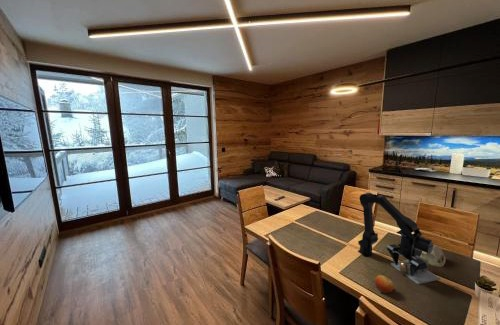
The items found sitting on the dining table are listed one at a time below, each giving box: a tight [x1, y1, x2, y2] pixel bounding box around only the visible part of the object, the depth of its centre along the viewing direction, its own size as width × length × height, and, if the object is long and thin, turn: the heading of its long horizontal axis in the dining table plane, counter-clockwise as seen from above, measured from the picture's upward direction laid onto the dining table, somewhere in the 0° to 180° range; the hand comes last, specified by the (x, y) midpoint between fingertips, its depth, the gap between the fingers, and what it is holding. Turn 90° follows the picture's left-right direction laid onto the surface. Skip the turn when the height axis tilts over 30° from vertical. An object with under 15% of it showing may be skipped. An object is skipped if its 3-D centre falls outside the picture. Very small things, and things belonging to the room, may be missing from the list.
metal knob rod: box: [399, 260, 430, 275], centre depth 115 cm, size 18×4×5 cm, turn 103°
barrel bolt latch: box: [390, 255, 441, 285], centre depth 115 cm, size 14×16×8 cm
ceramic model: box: [420, 244, 446, 268], centre depth 125 cm, size 14×11×10 cm
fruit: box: [374, 274, 395, 294], centre depth 103 cm, size 8×8×8 cm
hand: (403, 270), depth 114 cm, fingers open, 9 cm apart
